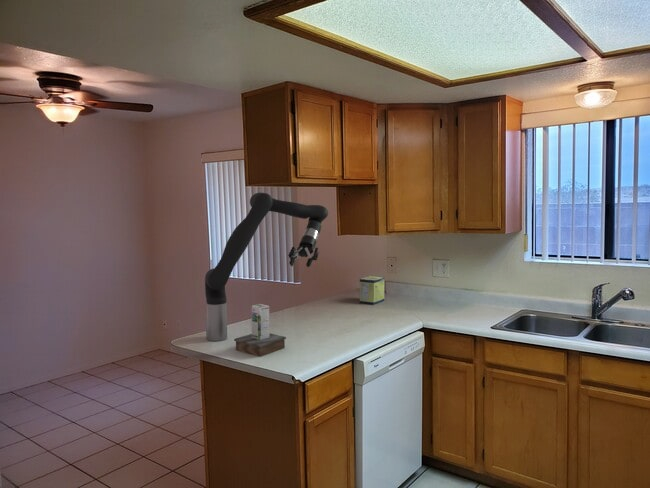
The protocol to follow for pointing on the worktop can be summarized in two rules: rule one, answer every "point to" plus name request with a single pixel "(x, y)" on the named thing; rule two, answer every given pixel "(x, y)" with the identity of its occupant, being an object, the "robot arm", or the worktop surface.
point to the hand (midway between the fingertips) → (299, 265)
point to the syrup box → (260, 321)
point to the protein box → (371, 290)
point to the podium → (260, 344)
